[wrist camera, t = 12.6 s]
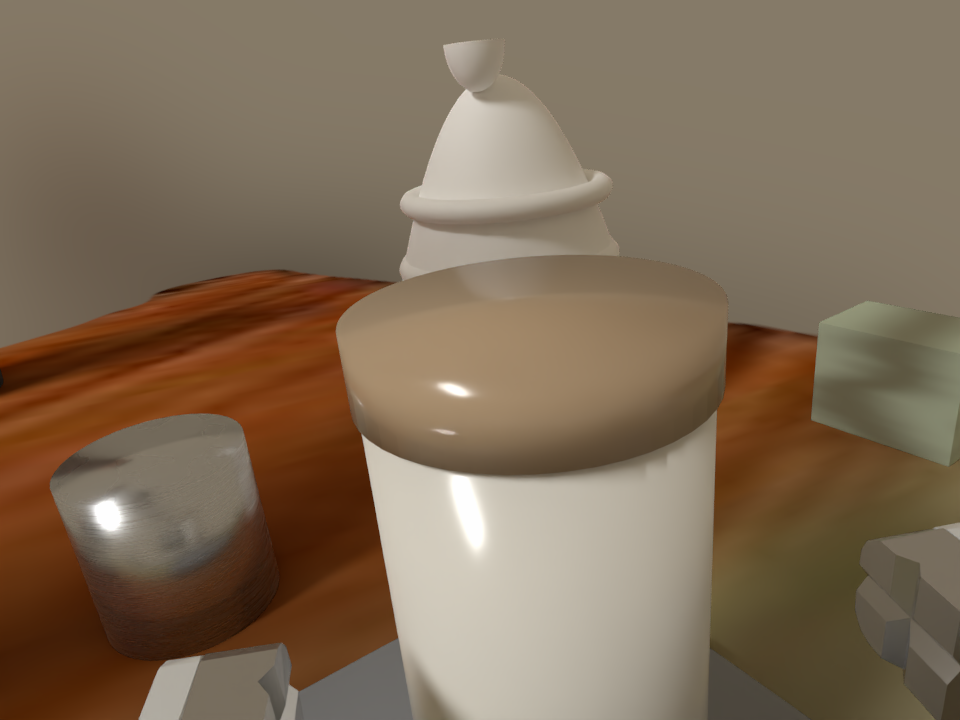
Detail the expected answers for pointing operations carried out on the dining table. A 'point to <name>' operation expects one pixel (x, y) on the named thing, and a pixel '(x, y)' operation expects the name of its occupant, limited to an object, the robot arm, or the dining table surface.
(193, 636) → the metal tin
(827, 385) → the sage block
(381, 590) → the dining table surface
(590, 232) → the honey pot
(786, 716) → the serving board
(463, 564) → the white lidded jar
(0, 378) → the travel mug
